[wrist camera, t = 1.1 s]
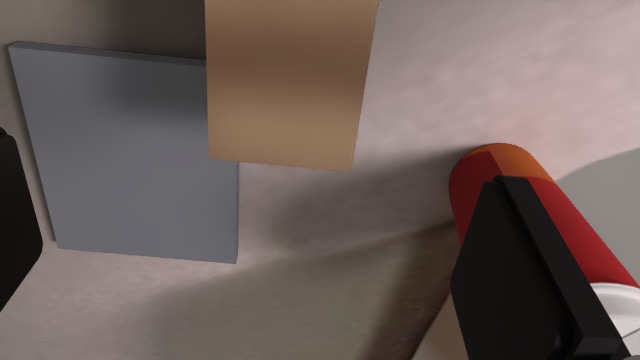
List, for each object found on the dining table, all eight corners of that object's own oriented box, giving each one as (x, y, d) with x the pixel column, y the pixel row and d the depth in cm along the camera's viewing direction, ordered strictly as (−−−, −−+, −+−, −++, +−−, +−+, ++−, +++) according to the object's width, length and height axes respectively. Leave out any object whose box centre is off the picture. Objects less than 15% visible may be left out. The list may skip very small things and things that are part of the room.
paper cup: (443, 240, 34) (502, 443, 22) (419, 147, 30) (474, 335, 18) (562, 212, 33) (692, 414, 21) (553, 110, 29) (706, 289, 17)
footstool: (242, -128, 22) (201, -118, 15) (374, -113, 23) (393, -96, 16) (239, 80, 28) (208, 158, 21) (346, 91, 28) (351, 172, 21)
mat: (17, 40, 27) (7, 46, 26) (240, 63, 27) (237, 70, 27) (64, 239, 35) (58, 248, 34) (237, 254, 35) (235, 263, 34)
